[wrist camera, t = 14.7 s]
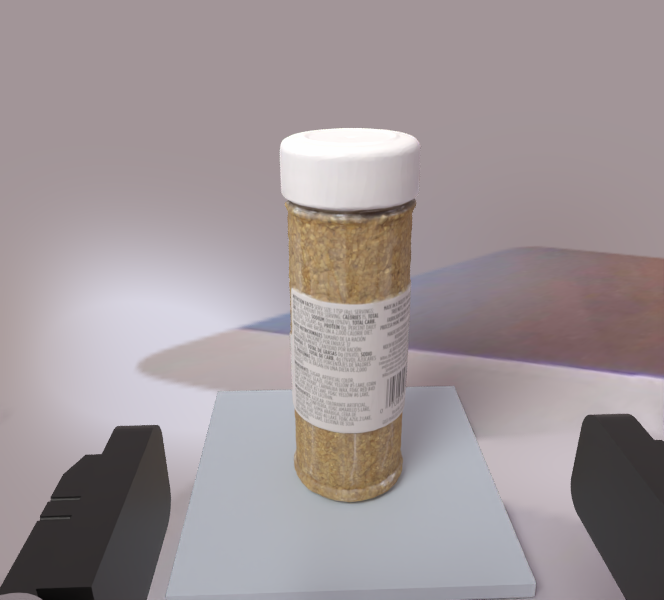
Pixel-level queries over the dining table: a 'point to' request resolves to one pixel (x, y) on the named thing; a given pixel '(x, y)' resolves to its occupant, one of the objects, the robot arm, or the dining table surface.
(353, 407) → the sprinkles bottle
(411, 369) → the dining table surface
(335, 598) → the pad
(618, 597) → the dining table surface
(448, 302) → the dining table surface
